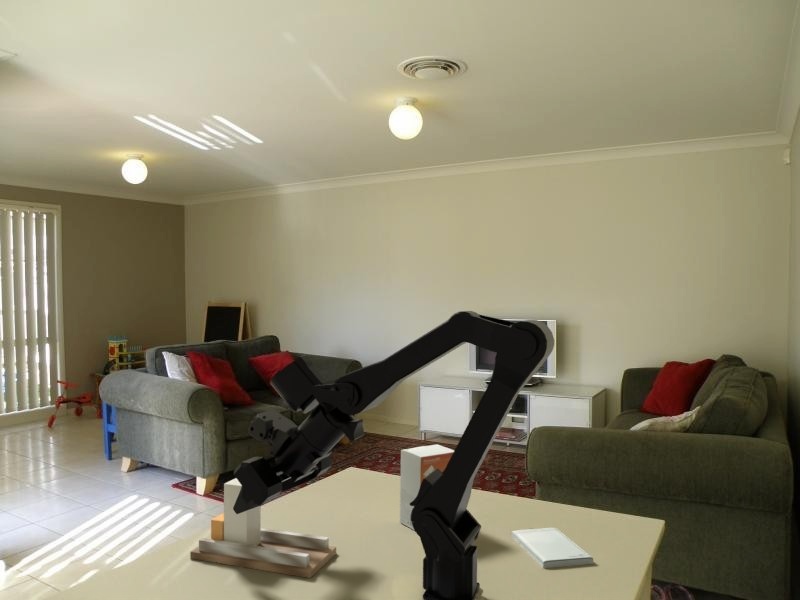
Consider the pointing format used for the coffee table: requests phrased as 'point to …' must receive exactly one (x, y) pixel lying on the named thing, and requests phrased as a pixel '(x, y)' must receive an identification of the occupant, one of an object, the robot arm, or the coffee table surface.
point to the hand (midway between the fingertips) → (254, 501)
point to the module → (240, 518)
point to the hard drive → (551, 547)
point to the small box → (418, 473)
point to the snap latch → (217, 528)
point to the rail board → (271, 552)
